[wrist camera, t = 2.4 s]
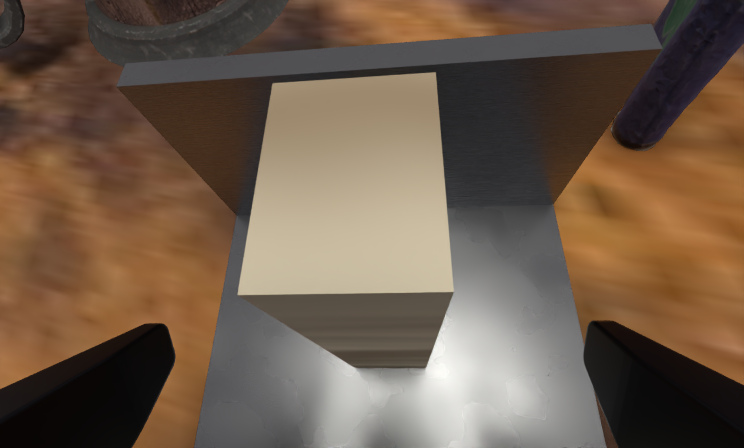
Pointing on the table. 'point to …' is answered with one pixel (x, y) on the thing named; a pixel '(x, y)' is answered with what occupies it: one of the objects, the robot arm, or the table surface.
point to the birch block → (353, 218)
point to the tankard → (162, 27)
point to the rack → (466, 233)
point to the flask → (679, 66)
